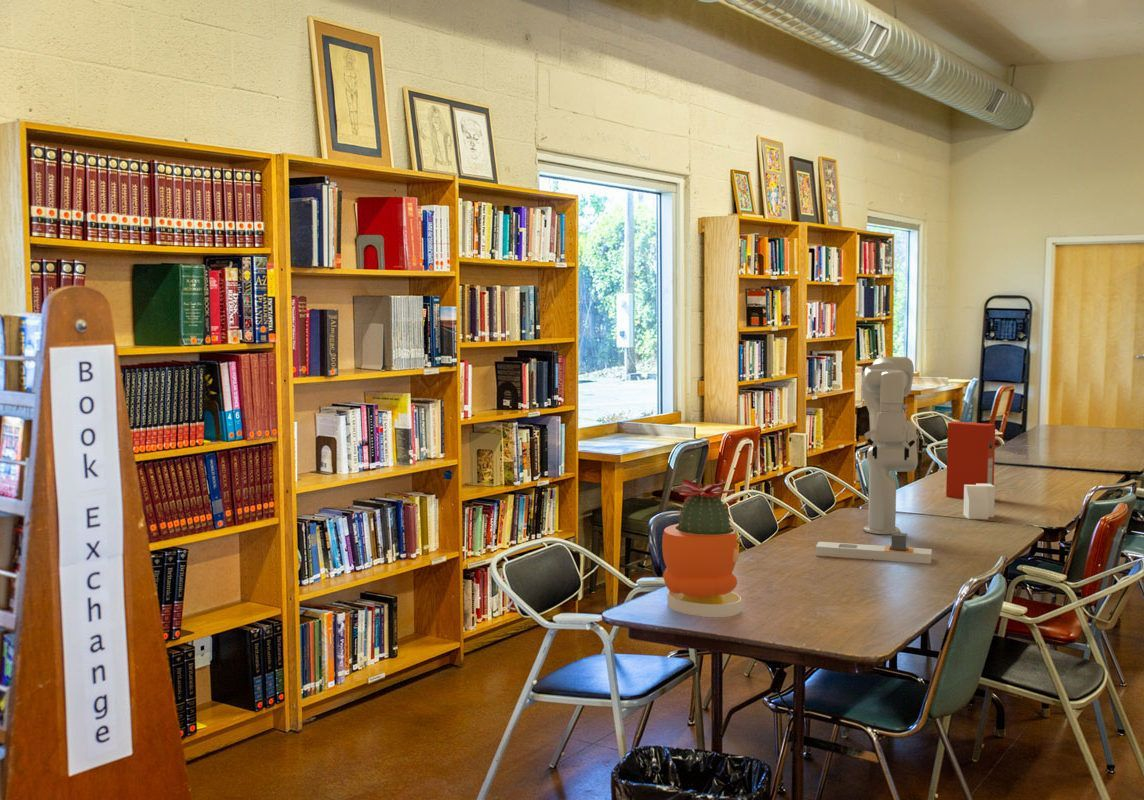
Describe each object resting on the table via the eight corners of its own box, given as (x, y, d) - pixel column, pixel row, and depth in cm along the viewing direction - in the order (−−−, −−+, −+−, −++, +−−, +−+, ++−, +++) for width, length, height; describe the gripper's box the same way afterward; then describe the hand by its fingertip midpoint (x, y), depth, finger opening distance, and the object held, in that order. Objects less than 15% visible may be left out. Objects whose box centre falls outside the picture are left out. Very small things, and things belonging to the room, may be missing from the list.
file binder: (985, 501, 455) (987, 425, 452) (945, 496, 467) (947, 422, 464) (993, 499, 461) (995, 424, 458) (953, 494, 473) (955, 421, 470)
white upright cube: (989, 513, 428) (990, 483, 427) (997, 519, 417) (998, 488, 416) (961, 513, 430) (962, 483, 429) (968, 518, 418) (969, 487, 417)
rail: (818, 550, 364) (818, 540, 364) (931, 558, 353) (931, 548, 352) (815, 555, 357) (815, 545, 357) (931, 563, 345) (931, 553, 345)
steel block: (892, 556, 355) (892, 532, 354) (906, 557, 353) (906, 533, 353) (891, 559, 351) (891, 535, 350) (905, 560, 349) (905, 536, 349)
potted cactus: (690, 594, 309) (691, 472, 306) (756, 608, 294) (758, 480, 291) (641, 609, 294) (642, 480, 291) (708, 625, 278) (709, 490, 275)
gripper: (919, 408, 364) (917, 458, 366) (865, 406, 370) (864, 456, 371) (918, 410, 357) (917, 461, 359) (864, 408, 363) (863, 459, 364)
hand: (890, 459), depth 365 cm, fingers open, 9 cm apart
